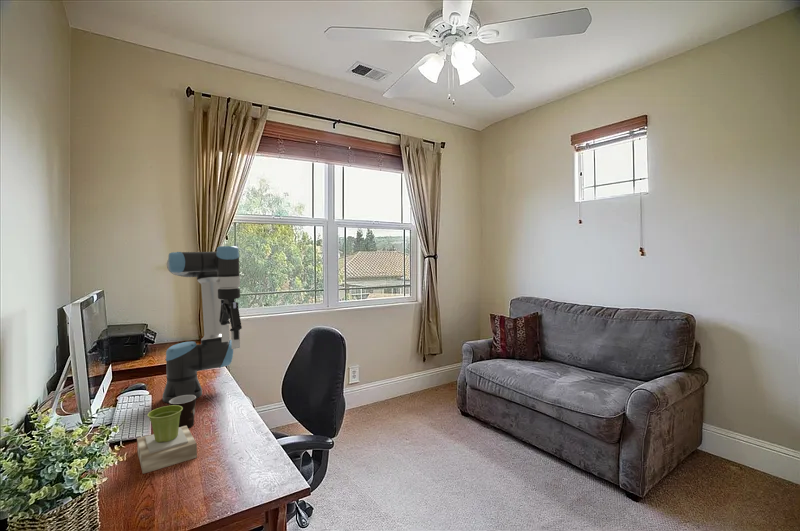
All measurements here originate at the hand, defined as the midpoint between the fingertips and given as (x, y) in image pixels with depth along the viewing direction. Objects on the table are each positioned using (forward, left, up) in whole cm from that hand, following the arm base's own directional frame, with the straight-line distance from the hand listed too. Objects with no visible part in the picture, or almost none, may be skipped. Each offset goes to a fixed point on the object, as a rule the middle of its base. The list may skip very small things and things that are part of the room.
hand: (230, 345), depth 144 cm
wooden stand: (+12, -23, -29) cm, 39 cm away
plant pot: (+12, -23, -24) cm, 35 cm away
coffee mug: (-8, -14, -29) cm, 33 cm away
